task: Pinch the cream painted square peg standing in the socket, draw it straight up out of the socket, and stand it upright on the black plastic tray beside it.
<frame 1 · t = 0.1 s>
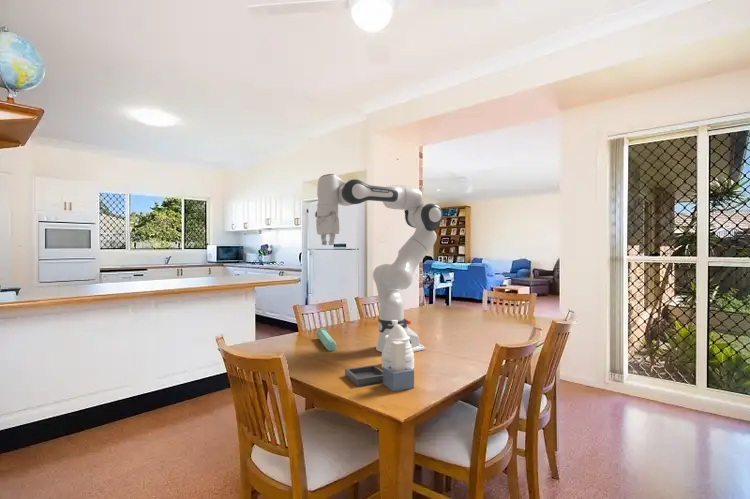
hand: (327, 245, 168), 48 cm above the table, tool pointing down, fingers open, 8 cm apart
tray: (366, 378, 143), on the table
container: (326, 345, 190), on the table
socket: (398, 385, 136), on the table
peg: (398, 364, 135), in the socket
honey pot: (397, 367, 157), on the table
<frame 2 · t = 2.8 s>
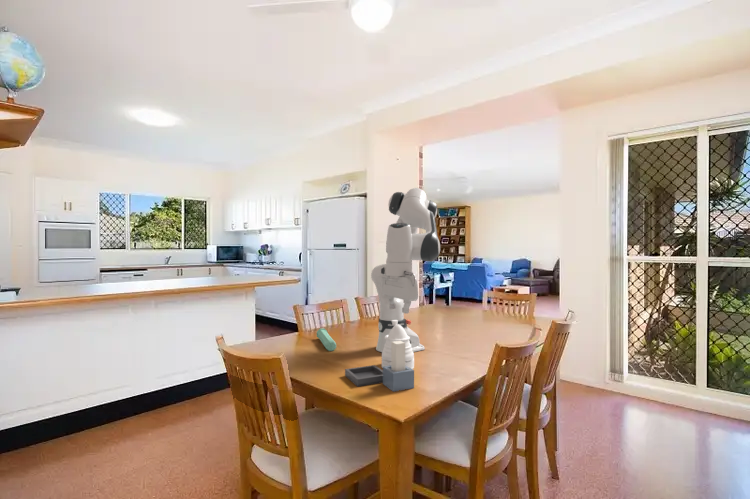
hand: (398, 310, 135), 26 cm above the table, tool pointing down, fingers open, 8 cm apart
nothing on the table moved.
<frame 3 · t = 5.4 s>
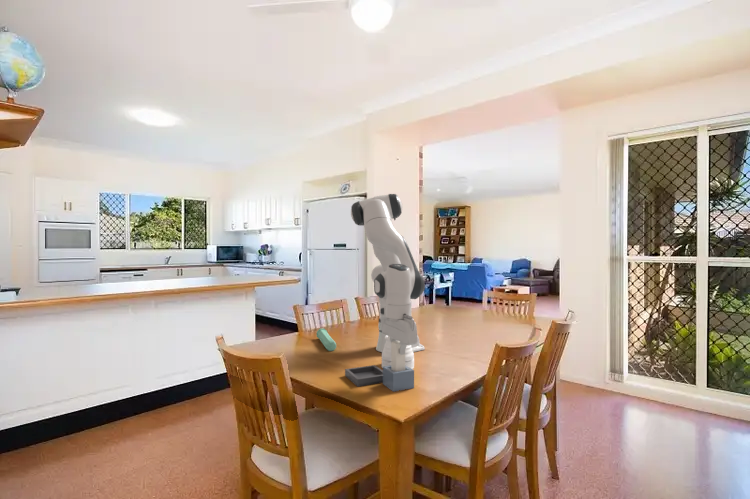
hand: (398, 352, 135), 12 cm above the table, tool pointing down, fingers closed on peg, 3 cm apart
peg: (398, 364, 135), in the socket, touching gripper
everything else where it was.
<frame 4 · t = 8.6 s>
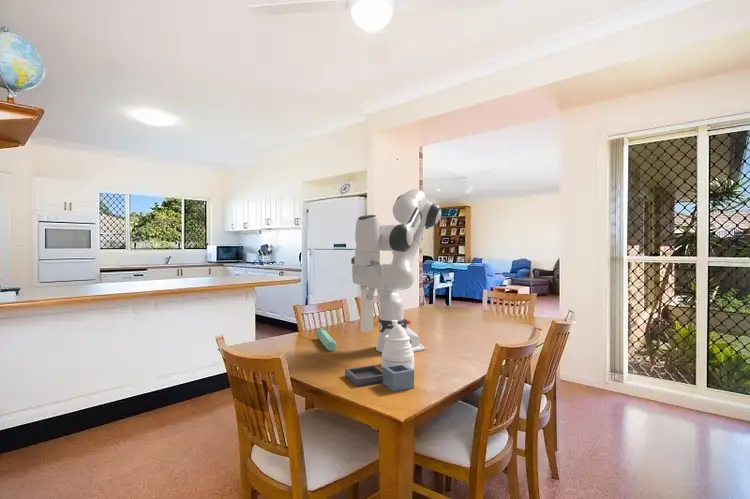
hand: (367, 298, 142), 29 cm above the table, tool pointing down, fingers closed on peg, 3 cm apart
peg: (367, 310, 142), point 25 cm above the table, touching gripper
everything else where it was.
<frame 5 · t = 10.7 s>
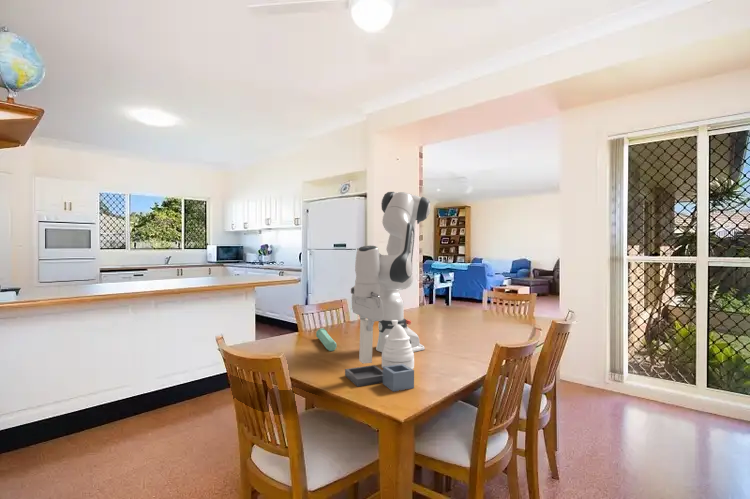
hand: (366, 329, 142), 18 cm above the table, tool pointing down, fingers closed on peg, 3 cm apart
peg: (366, 340, 142), point 14 cm above the table, touching gripper
everything else where it was.
when the fingers open (14 cm above the table, at t = 12.3 s): peg drops 1 cm, resting on tray.
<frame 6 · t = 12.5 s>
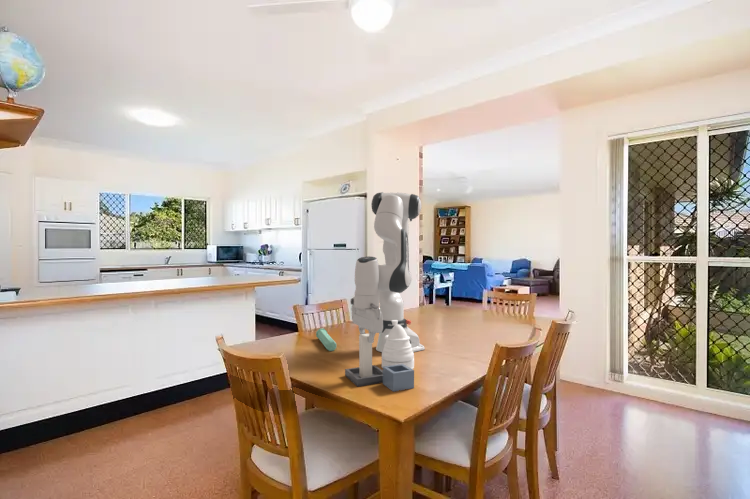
hand: (366, 340, 142), 14 cm above the table, tool pointing down, fingers open, 5 cm apart
peg: (365, 355, 142), in the tray, point 8 cm above the table
everything else where it was.
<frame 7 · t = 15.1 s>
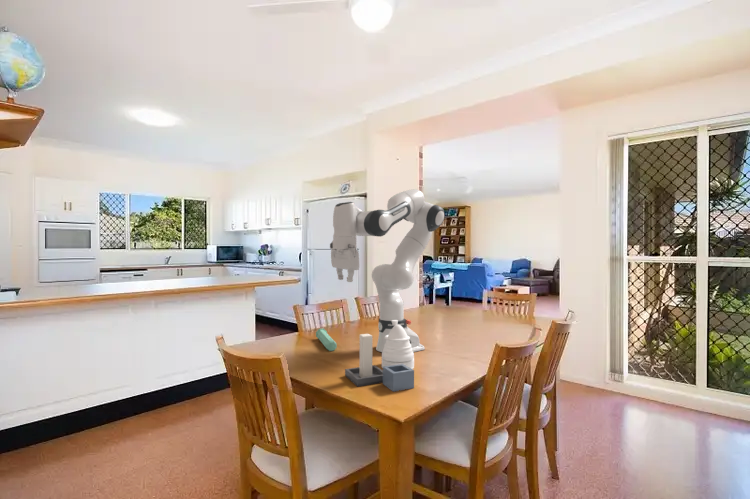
hand: (345, 280, 151), 34 cm above the table, tool pointing down, fingers open, 8 cm apart
nothing on the table moved.
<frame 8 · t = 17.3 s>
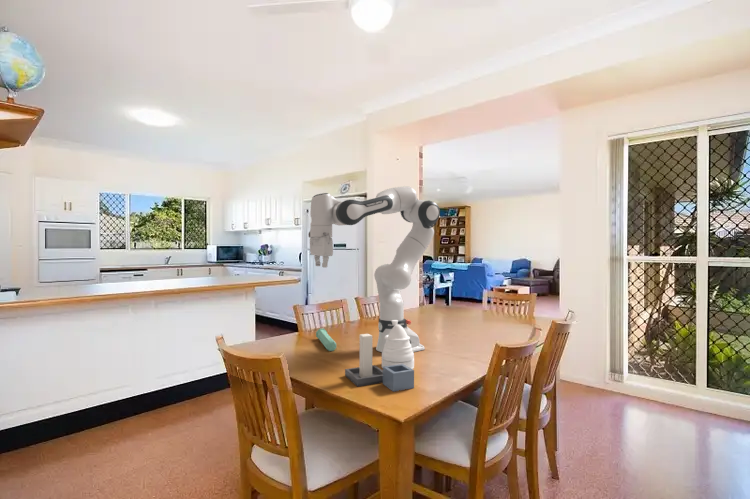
hand: (321, 266, 162), 39 cm above the table, tool pointing down, fingers open, 8 cm apart
nothing on the table moved.
at the end: peg inside the target area on the tray (0.3 cm from its centre), point 8.3 cm above the tray's base; peg tilted 0°; the gripper is holding nothing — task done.
